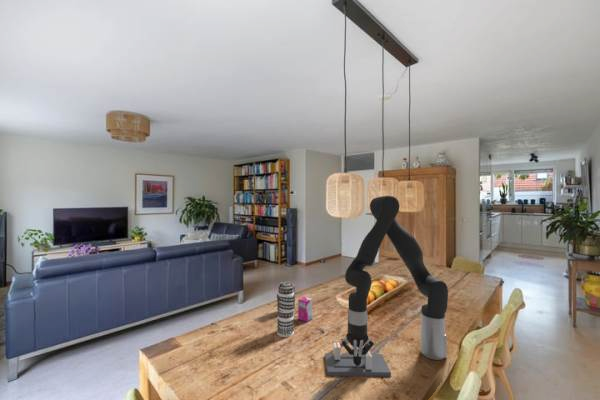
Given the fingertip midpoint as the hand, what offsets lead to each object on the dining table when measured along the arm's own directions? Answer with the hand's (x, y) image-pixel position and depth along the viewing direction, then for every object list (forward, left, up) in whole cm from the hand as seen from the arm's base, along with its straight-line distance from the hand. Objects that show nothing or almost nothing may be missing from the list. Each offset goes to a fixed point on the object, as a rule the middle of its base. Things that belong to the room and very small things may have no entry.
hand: (357, 364), depth 104 cm
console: (0, -3, -2) cm, 4 cm away
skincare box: (+31, -54, -3) cm, 62 cm away
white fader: (+7, -6, -1) cm, 9 cm away
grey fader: (-4, 0, -1) cm, 4 cm away
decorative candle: (+30, -29, -3) cm, 42 cm away
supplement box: (+20, -44, -3) cm, 48 cm away
